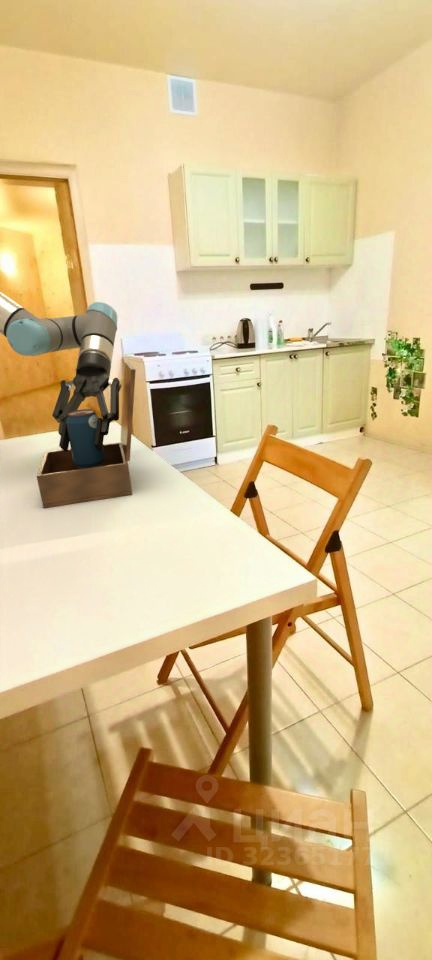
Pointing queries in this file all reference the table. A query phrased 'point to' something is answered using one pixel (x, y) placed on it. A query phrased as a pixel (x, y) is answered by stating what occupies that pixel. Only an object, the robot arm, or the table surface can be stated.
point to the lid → (127, 409)
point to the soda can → (84, 438)
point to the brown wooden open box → (83, 478)
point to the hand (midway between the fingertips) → (80, 447)
